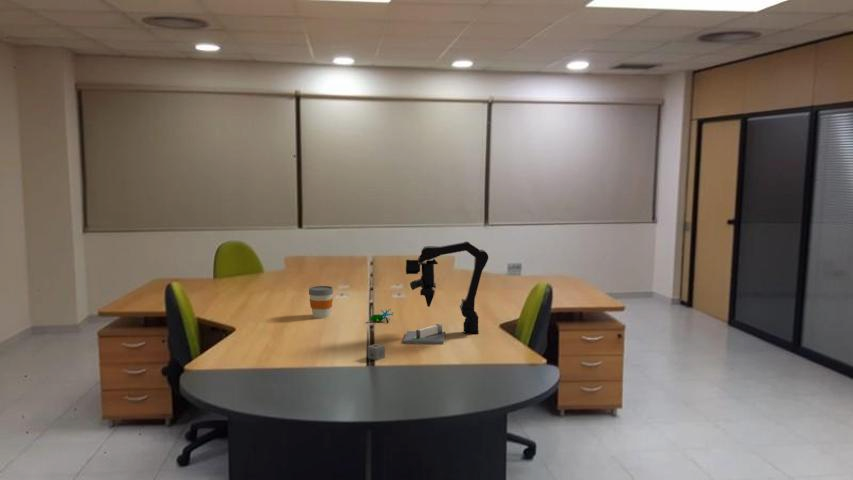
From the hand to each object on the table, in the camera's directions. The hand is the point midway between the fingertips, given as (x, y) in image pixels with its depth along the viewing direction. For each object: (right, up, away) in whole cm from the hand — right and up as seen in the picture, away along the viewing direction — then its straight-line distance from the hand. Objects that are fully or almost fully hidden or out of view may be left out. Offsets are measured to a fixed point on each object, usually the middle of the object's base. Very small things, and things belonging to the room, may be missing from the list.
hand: (428, 306), depth 297 cm
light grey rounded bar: (0, -12, -8) cm, 15 cm away
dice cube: (-22, -18, -36) cm, 46 cm away
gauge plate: (-2, -14, -8) cm, 16 cm away
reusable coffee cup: (-56, -9, +36) cm, 67 cm away
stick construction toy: (-23, -11, +23) cm, 34 cm away
